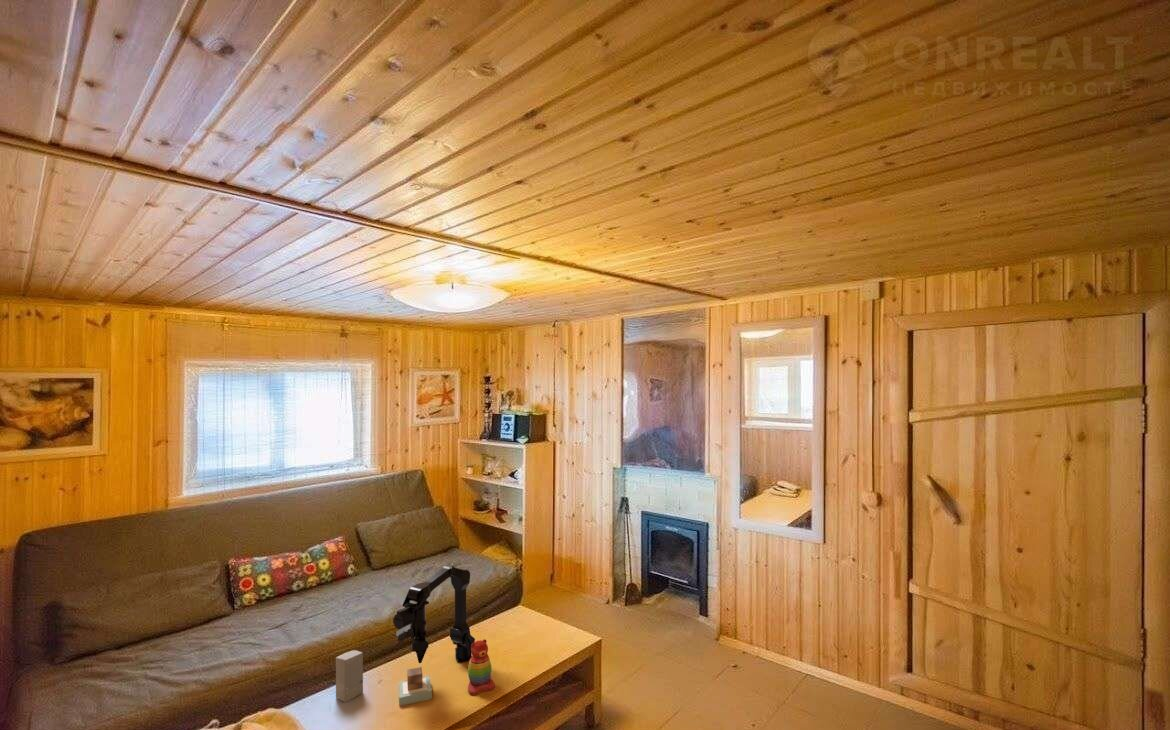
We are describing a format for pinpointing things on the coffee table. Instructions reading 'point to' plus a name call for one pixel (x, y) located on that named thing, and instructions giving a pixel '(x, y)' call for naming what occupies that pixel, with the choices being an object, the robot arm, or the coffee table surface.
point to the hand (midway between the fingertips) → (419, 657)
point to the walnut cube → (414, 678)
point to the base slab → (414, 692)
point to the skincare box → (349, 675)
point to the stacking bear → (479, 669)
